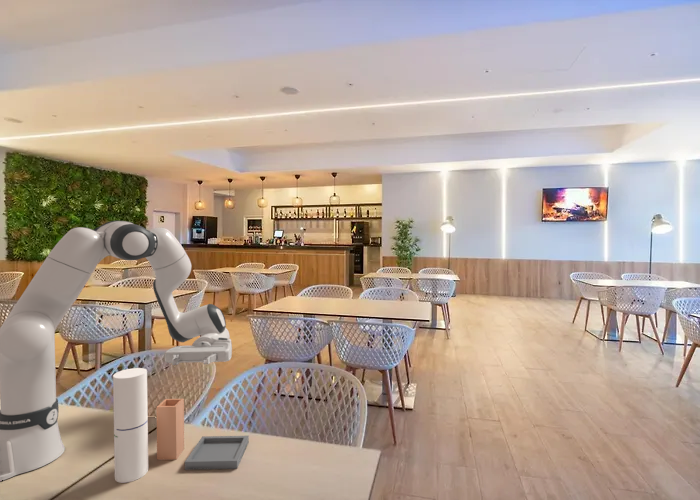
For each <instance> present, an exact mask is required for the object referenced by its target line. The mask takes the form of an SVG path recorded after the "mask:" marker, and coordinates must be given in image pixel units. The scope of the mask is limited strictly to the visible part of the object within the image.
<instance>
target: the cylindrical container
mask: <svg viewBox="0 0 700 500" xmlns="http://www.w3.org/2000/svg"><path fill="white" fill-rule="evenodd" d="M112 381H113V382H112V383H113V384H112V385H113V386H112V387H113V388H112V389H113V391H112V392H113V397H112V398H113V440H114V442H113V445H114V446H113V447H114V451H113V452H114V453H113V454H114V457H113V458H114V480H115V481H116V482H118V483H132V482H134V481H137V480H139V479H141V478H143V477H144V476H145V475H146V474H147V473H148V472H149V431H148V430H149V428H148V427H149V423H148V419H149V417H148V411H149V410H148V369H147V368H144V367H134V368H127V369H123V370H119V371H117V372H115V373H114V374H113V375H112Z"/></svg>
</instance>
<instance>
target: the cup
mask: <svg viewBox="0 0 700 500" xmlns="http://www.w3.org/2000/svg"><path fill="white" fill-rule="evenodd" d="M184 450H185V399H184V398H165V399H164V400H162V401H161V402H160V403H159V404H158V405H157V406H156V457H157V458H156V459H157V460H158V461H161V460H163V461H164V460H167V461H170V460H172V461H173V460H177V459H178V458H179V457H180V455H181V454H182V453H183V451H184Z"/></svg>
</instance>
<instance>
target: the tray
mask: <svg viewBox="0 0 700 500" xmlns="http://www.w3.org/2000/svg"><path fill="white" fill-rule="evenodd" d="M248 445H249V435H217V436H216V435H213V436H207V435H205V436H201V438H200V439H199V440H198V442H197V443H196V445H195V446H194V448H193V449H192V451H191V452H190V454H189V455H188V456H187V458H186V460H184V470H185V471H187V470H188V471H189V470H192V471H193V470H230V469H233V470H234V469H235V470H237V469H238V468H239V465H240V463H241V460H242V459H243V456H244V454H245V451H246V449H247V447H248Z"/></svg>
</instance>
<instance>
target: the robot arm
mask: <svg viewBox="0 0 700 500" xmlns="http://www.w3.org/2000/svg"><path fill="white" fill-rule="evenodd" d="M108 256H111V257H114V258H116V259H120V260H125V261H128V262H129V261H137V260H141V259H144V258H145V259H146V260H147V261H148V263H149V264H150V266H151V268H152V270H153V271H154V273H155V274H154V275H155V279H154V280H153V282H152V289H153V291H154V292H153V293H154V295H155V297H156V300H157V303H158V306H159V307H160V310H161V312H162V315H163V317H164V319H165V322H166V326H167V329H168V332H169V335H170V337H171V338H172V339H173V340H174V341H176V342H180V343H185V342H188V341H190V340H192V339H194V338H196V339H195V340H194V341H193V343H192V344H191V345H176V346H173V347H171V348H169V349H168V350H165V352H164V362H165V363H166V364H171V365H172V366H177V365H179V364H181V363H182V364H183V363H184V364H185V363H203V365H209V364H211V363H221V362H223V363H224V362H225V363H226V362H229V361H231V360H232V359H231V358H232V356H233V354H232V353H233V346H232V345H233V344H232V339H231V337H230V332H229V329H227V326H226V325H227V322H226V317H225V315H224V313H223V311H222V310H221V308H219V307H218V306H216V305H214V304H212V303H209V304H205V305H202V306H200V307H196V308H194V309H190V310H188V311H185V312H182V311H179V308H178V306H177V303H176V300H175V298H174V295H173V292H174V291H175V290H176V289H178V287H180V286H181V285H183V284H184V283H185V282H186V280H187V279H188V277H189V276H190V274H191V271H192V262H191V259H190V257H189V256H188V254H187V251H186V250H185V249H184V247H183V246H182V244H181V243H180V242H179V240H178V239H177V238H176V236H175V235H174V234H173V233H172V231H170V230H169V229H168V228H164V227H155V228H151V229H147V228H145V227H144V226H141V225H139V224H136V223H135V224H134V223H133V222H131V221H125V220H111V221H110V220H109V221H107V222H105V223H103V224H101V225H100V226H98V227H96V228H94V229H91V228H89V227H82V226H81V227H74V228H71V229H70V230H68V231H67V232H66V233H65V234H64V235H63V236H62V238H61V239H60V240H59V241H58V242H57V243H56V244H55V246H54V247H53V248H52V250H50V252H49V253H48V255H47V257H46V258H45V260H43V263H42V264H41V265H40V267H39V268H38V269H37V272H36V273H35V275H34V276H33V278H32V279H31V281H30V282H29V283H28V285H27V286H26V288H25V290H24V291H23V292H22V294H21V296H20V298H18V300H17V302H16V304H14V306H13V307H12V309H11V311H10V312H9V314H8V315H7V316H6V318H5V320H4V321H3V323H2V325H1V326H0V482H3V481H5V480H8V479H10V478H12V477H15V476H17V475H20V474H25V473H27V472H30V471H33V470H37V469H39V468H41V467H45V466H47V465H48V464H50V463H52V462H53V461H56V459H58V458H59V457H60V456H62V454H64V453H65V450H66V447H65V445H64V443H63V440H62V437H61V432H60V428H59V423H58V418H59V400H58V398H57V384H56V383H57V382H56V381H57V379H56V377H57V376H56V374H57V373H56V334H55V333H56V329H57V328H58V326H60V323H61V321H62V320H63V319H64V317H65V316H66V314H67V313H68V311H69V310H70V309H71V307H72V306H73V304H74V303H75V302H76V301H77V299H78V297H79V296H80V294H81V292H82V290H83V289H84V288H85V286H86V284H87V283H88V281H89V280H90V278H91V276H92V274H93V273H94V272H95V269H96V268H97V266H98V265H99V263H100V262H101V261H102V260H103V259H105V258H106V257H108ZM197 337H198V338H197ZM2 480H3V481H2Z"/></svg>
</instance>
